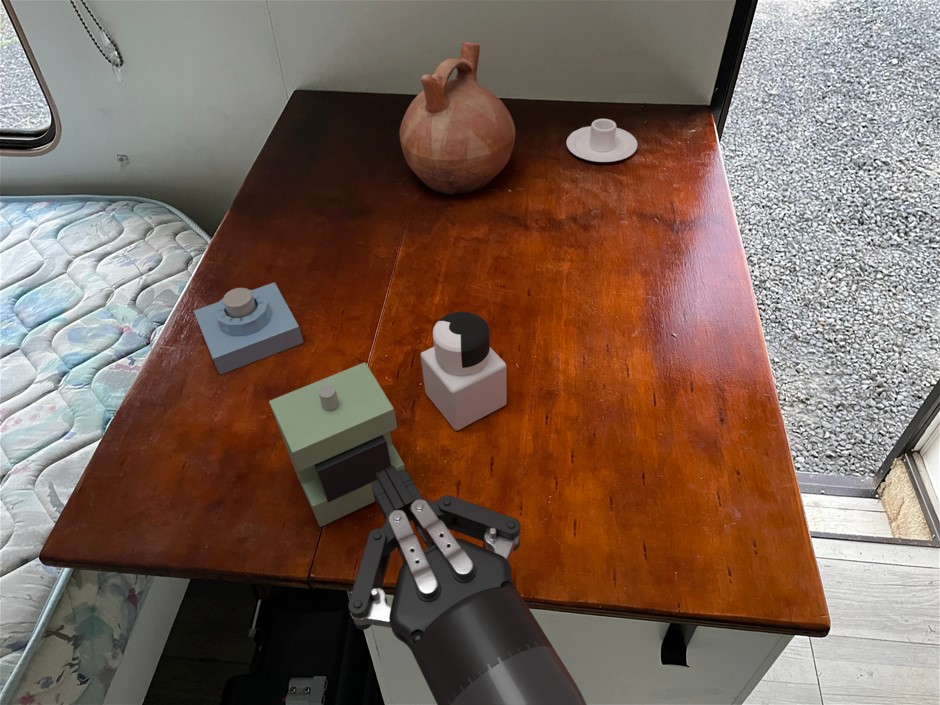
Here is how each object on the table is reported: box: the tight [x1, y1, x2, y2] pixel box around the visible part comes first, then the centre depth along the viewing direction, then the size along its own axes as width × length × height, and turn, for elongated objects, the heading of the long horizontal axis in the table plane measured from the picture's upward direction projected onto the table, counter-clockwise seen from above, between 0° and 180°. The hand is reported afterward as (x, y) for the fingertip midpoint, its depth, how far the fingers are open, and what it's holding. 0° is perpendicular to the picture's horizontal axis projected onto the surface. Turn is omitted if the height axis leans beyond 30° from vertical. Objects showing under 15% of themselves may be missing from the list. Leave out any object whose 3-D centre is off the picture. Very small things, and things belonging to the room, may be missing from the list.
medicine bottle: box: [420, 311, 508, 432], centre depth 79 cm, size 7×7×12 cm
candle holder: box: [566, 118, 638, 163], centre depth 120 cm, size 12×12×4 cm
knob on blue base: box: [193, 281, 305, 376], centre depth 91 cm, size 11×10×5 cm
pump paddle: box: [314, 435, 391, 502], centre depth 69 cm, size 7×1×5 cm, turn 119°
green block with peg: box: [268, 362, 406, 528], centre depth 71 cm, size 10×7×15 cm
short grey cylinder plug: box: [222, 287, 256, 318], centre depth 89 cm, size 4×4×2 cm
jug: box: [399, 41, 516, 195], centre depth 110 cm, size 18×18×20 cm
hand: (385, 476), depth 52 cm, fingers closed
